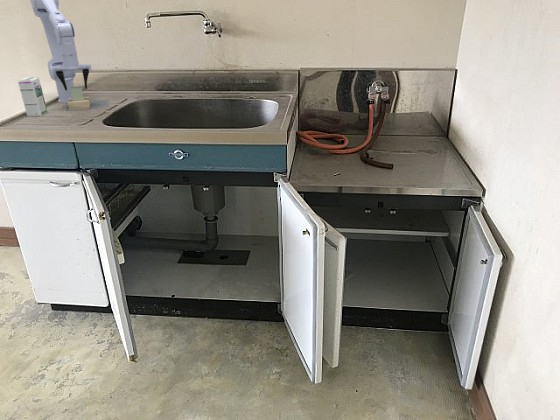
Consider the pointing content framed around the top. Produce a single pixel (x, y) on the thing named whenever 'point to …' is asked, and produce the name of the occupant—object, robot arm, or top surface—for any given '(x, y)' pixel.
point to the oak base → (79, 104)
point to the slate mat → (93, 105)
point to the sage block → (77, 93)
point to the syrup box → (32, 96)
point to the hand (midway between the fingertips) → (76, 89)
